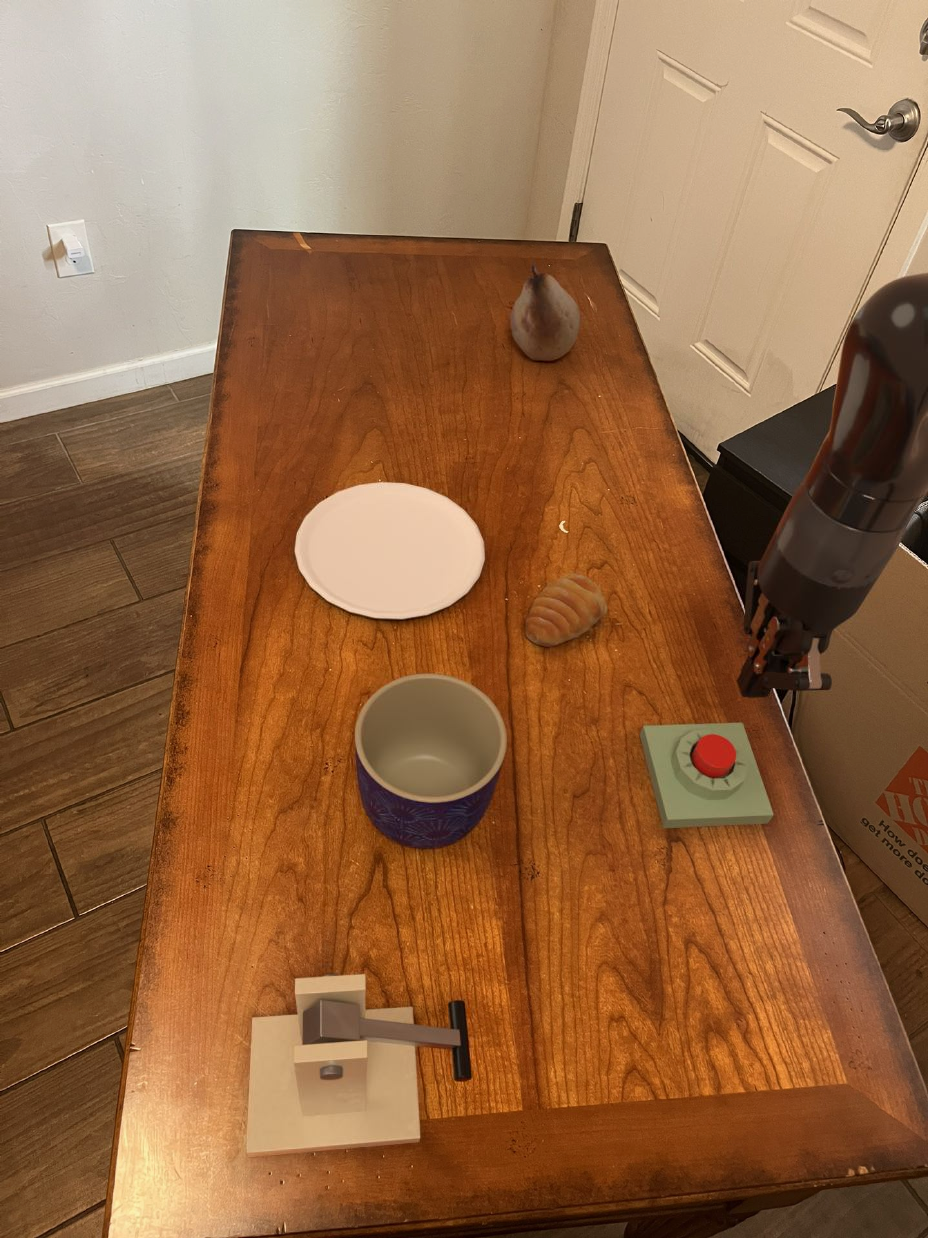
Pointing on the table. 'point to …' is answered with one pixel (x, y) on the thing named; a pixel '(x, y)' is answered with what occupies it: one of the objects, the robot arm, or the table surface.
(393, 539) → the plate
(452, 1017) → the lever
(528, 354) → the fruit
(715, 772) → the button
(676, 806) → the button block
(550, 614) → the pastry
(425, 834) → the planter
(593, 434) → the table surface
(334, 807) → the table surface
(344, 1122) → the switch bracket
